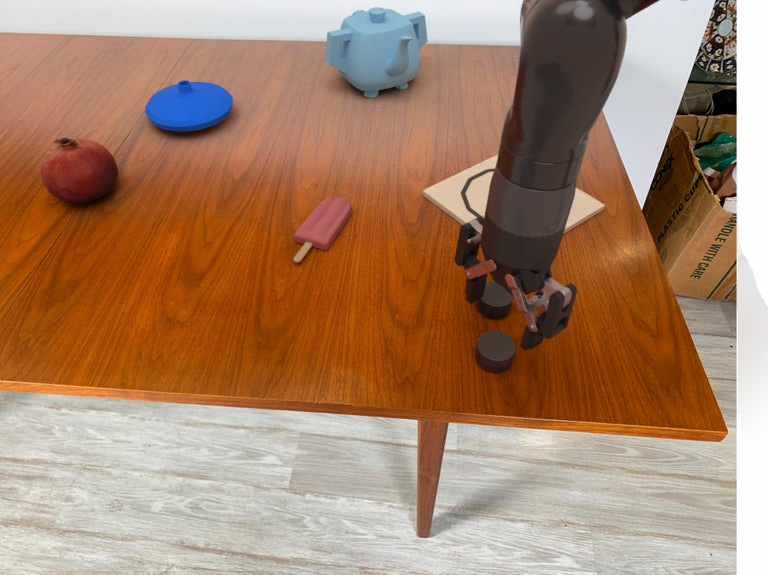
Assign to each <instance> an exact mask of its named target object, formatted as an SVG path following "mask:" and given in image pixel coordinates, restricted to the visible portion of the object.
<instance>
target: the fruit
mask: <svg viewBox="0 0 768 575" xmlns="http://www.w3.org/2000/svg"><path fill="white" fill-rule="evenodd" d="M53 143H54V145H52V146H51V147H50V149H49V150H48V151H47V153H46V154H45V155H44V156H43V157H42V158H43V159H42V161H41V165H40V176H41V183H42V184H43V186H44V188H45V189H46V190H47V191H48V193H49V194H50V195H51V196H53V197H54V198H56V199H58V200H60V201H61V200H62V201H65V202H67V203H70V204H71V203H72V204H87V203H90V202H92V201H95V200H98V199H99V198H101V197H103V196H104V195H105V194H107V193H108V192H109V191H111V190H113V188H114V187H115V185H116V182H117V180H118V177H119V167H118V164H117V161H116V159H115V158H114V156H113V154H112V153H111V151H109V149H108V148H106V147H105V146H103V144H101V143H99V142H97V141H95V140H92V139H88V138H74V139H73V138H69V137H61V138H60V139H59V138H58V139H55V140H53Z"/></svg>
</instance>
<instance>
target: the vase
mask: <svg viewBox="0 0 768 575" xmlns="http://www.w3.org/2000/svg"><path fill="white" fill-rule="evenodd" d="M233 104H234V100H233V96H232V94H231V93H230V92H229V91H228V90H227V89H225V87H223V86H221V85H219V84H216V83H213V82H207V81H190V80H187V79H183V80H179V81H178V82H177V83H176V84H172V85H168V86H166V87H164V88H161V89H160V90H158V91H156V92H155V93H153V94H152V95H151V96H150V97H149V99H148V101H147V102H146V104H145V107H144V114H145V115H146V117H147V118H148V120H149V121H150V122H151V124H152V125H154V126H155V127H156V128H160V129H162V130H165V131H171V132H194V131H199V130H203V129H207V128H209V127H212V126H214V125H216V124H219V123H221V122H222V121H223V120H225V119H226V118H227V117H228V116H229V115H230V113H231V111H232V109H233Z"/></svg>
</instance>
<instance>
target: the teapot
mask: <svg viewBox="0 0 768 575" xmlns="http://www.w3.org/2000/svg"><path fill="white" fill-rule="evenodd" d="M428 42H429V41H428V32H427V22H426V15H425V14H423V13H422V12H421V11H416V12H411V13H407V14H404V15H402V14H401V13H400V12H398V11H396V10H394V9H392V8H384V7H379V6H376V7H371V8H369V9H368V11H367V10H366V11H365V10H362V9H357V10H356V11H354V12H353V13H352V14H351V15H349V16H347V17H344V18H343V19H342V23H341V26H340V28H339V29H337V30H335V29H334V30H330V31H327V32H326V44H325V54H324V55H325V56H324V62H326V64H327V65H328V66H330V67H332V68H334V69H336V70H338V71H339V73H340V74H341V76H342V77H343V78H344V79H345V80H346V82H348V83H349V84H350V85H352V86H353V87H354V88H356V89H358V90H360V91H362V92H363V96H364V97H367V98H377V97H378V96H379V91H381V90H385V89H390V88H394V87H395V88H396V89H398V90H405V89H407V88H408V87H409V84H408V82H410V81H412V80H413V79H415V78H416V76H417V75H418V73H419V70H420V68H421V54H420V50H421V49H422V48H423V47H424V46H425V45H426V44H427V43H428Z"/></svg>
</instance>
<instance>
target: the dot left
mask: <svg viewBox="0 0 768 575" xmlns="http://www.w3.org/2000/svg"><path fill="white" fill-rule="evenodd" d="M515 354H516V344H515V341H514V340H513V338H512V337H511V336H510V335H508V334H507V333H505V332H502V331H500V330H489V331H486V332H484V333H482V334H481V335H479V337H478V338H477V342H476V347H475V352H474V361H475V363H476V365H477V366H478V367H479V368H480V369H481V370H483V371H485V372H486V373H490V374H501V373H504V372H506V371H508V370H509V369H510V368H511V367H512V365H513V361H514V358H515Z"/></svg>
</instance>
